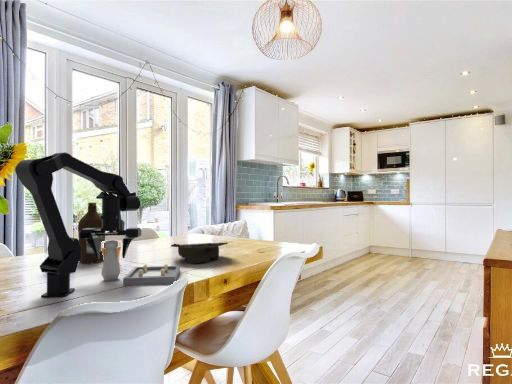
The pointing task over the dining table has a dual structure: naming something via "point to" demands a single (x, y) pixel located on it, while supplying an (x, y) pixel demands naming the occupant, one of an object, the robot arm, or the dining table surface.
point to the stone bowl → (199, 251)
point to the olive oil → (86, 221)
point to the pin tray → (152, 275)
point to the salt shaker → (110, 261)
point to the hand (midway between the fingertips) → (111, 258)
